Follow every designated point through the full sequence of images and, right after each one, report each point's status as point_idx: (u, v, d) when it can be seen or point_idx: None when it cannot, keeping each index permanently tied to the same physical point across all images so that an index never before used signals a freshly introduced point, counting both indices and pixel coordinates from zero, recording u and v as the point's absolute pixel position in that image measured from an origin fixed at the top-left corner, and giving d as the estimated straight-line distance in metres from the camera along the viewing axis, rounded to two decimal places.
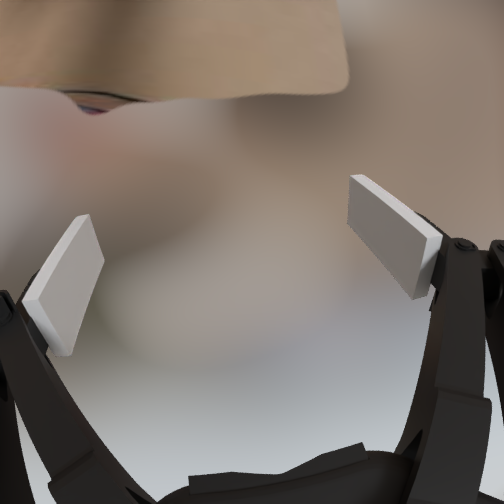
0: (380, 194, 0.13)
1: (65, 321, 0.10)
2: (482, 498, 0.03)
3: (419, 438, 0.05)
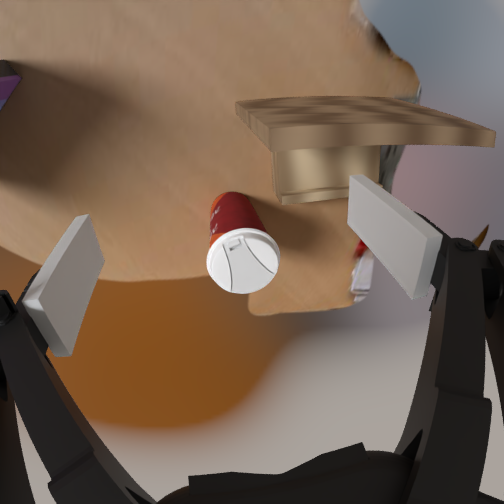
0: (380, 194, 0.13)
1: (65, 321, 0.10)
2: (482, 498, 0.03)
3: (419, 438, 0.05)
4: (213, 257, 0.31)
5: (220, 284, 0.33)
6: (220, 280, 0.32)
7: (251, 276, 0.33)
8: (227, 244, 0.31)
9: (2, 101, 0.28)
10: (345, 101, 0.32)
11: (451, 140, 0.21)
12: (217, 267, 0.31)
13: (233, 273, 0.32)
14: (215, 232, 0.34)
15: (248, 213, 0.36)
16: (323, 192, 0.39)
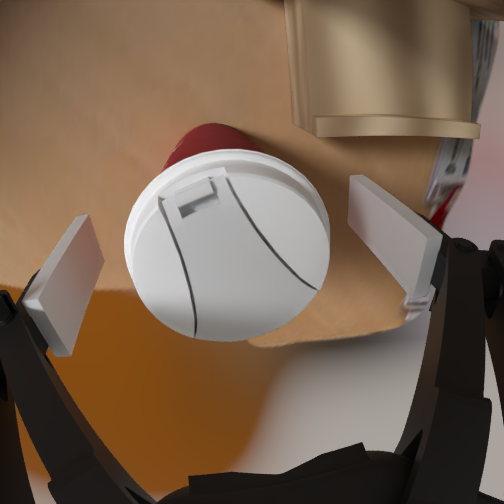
0: (380, 194, 0.13)
1: (65, 321, 0.10)
2: (482, 498, 0.03)
3: (419, 438, 0.05)
4: (133, 241, 0.10)
5: (163, 319, 0.11)
6: (162, 308, 0.11)
7: (250, 298, 0.11)
8: (173, 196, 0.09)
9: None
10: None
11: None
12: (147, 271, 0.10)
13: (197, 289, 0.11)
14: None
15: (244, 140, 0.14)
16: (394, 119, 0.17)
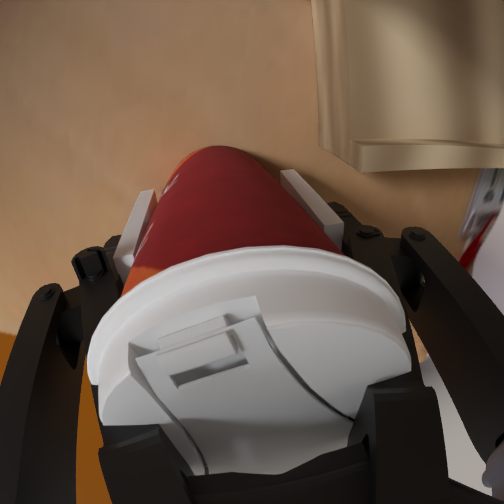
0: (299, 186, 0.14)
1: None
2: (482, 498, 0.03)
3: (367, 440, 0.05)
4: (99, 403, 0.05)
5: None
6: None
7: (286, 450, 0.07)
8: (156, 351, 0.05)
9: None
10: None
11: None
12: None
13: (208, 451, 0.06)
14: (137, 259, 0.08)
15: (269, 186, 0.10)
16: (452, 148, 0.13)
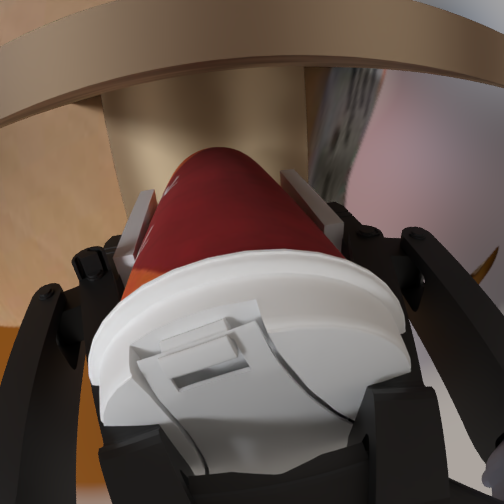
0: (299, 186, 0.14)
1: None
2: (482, 498, 0.03)
3: (367, 440, 0.05)
4: (100, 405, 0.05)
5: None
6: None
7: (287, 451, 0.07)
8: (157, 354, 0.05)
9: None
10: None
11: (421, 48, 0.05)
12: None
13: (209, 452, 0.06)
14: (137, 261, 0.08)
15: (269, 188, 0.10)
16: None
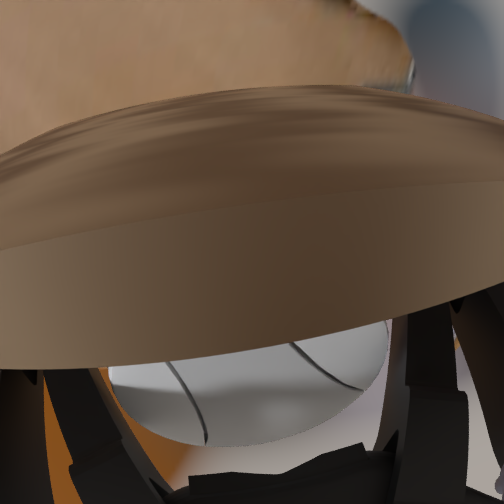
0: None
1: None
2: (482, 498, 0.03)
3: (396, 437, 0.05)
4: None
5: (163, 433, 0.08)
6: (160, 425, 0.07)
7: (278, 410, 0.08)
8: None
9: None
10: (221, 96, 0.14)
11: None
12: (135, 394, 0.06)
13: (206, 409, 0.07)
14: None
15: None
16: None
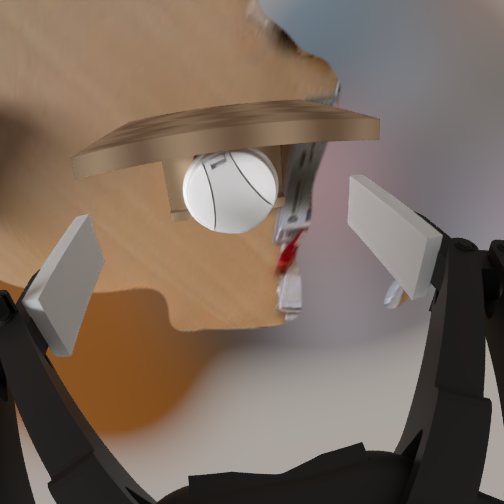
0: (380, 194, 0.13)
1: (65, 321, 0.10)
2: (482, 498, 0.03)
3: (419, 438, 0.05)
4: (190, 180, 0.23)
5: (200, 219, 0.24)
6: (200, 213, 0.24)
7: (241, 207, 0.25)
8: (208, 161, 0.23)
9: None
10: (224, 109, 0.31)
11: (296, 137, 0.20)
12: (195, 193, 0.23)
13: (217, 202, 0.24)
14: None
15: None
16: None
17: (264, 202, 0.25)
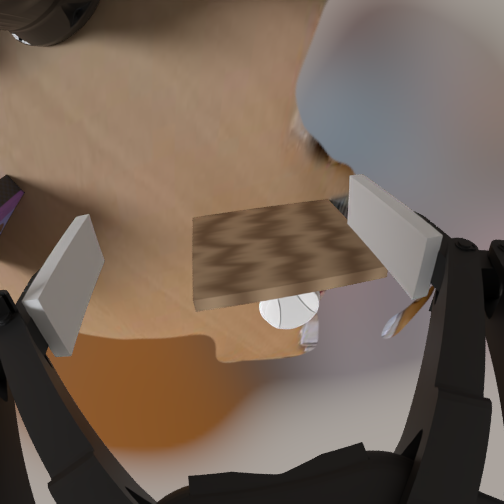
0: (380, 194, 0.13)
1: (65, 321, 0.10)
2: (482, 498, 0.03)
3: (419, 438, 0.05)
4: (267, 303, 0.37)
5: (271, 323, 0.38)
6: (271, 320, 0.38)
7: (296, 315, 0.38)
8: None
9: (11, 211, 0.41)
10: (275, 224, 0.45)
11: (337, 284, 0.34)
12: (270, 310, 0.37)
13: (282, 314, 0.38)
14: None
15: None
16: None
17: (311, 311, 0.39)
